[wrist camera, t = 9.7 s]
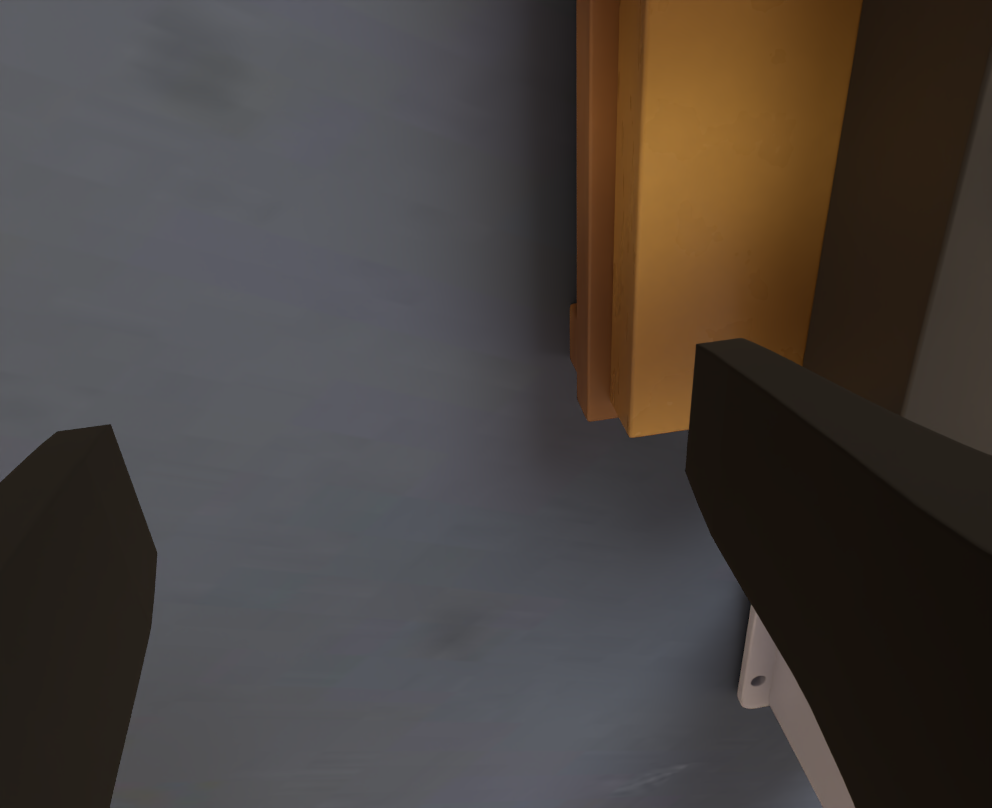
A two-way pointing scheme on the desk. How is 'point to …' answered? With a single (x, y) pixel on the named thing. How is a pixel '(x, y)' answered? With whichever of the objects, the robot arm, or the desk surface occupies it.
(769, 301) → the footstool
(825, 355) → the remote
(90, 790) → the robot arm
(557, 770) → the desk surface
